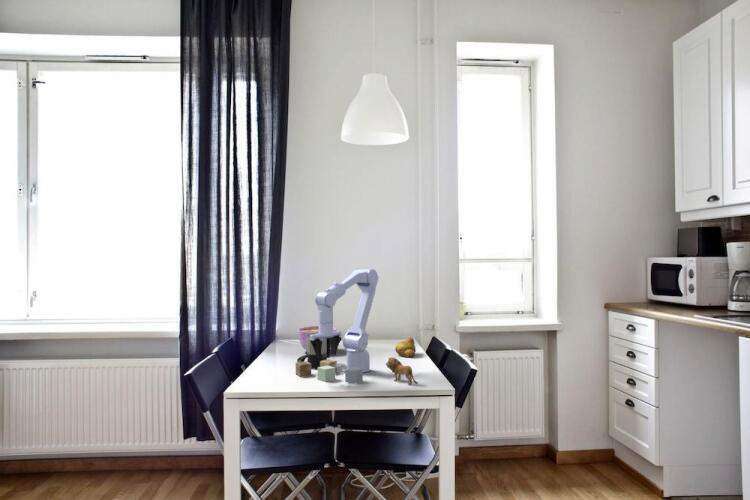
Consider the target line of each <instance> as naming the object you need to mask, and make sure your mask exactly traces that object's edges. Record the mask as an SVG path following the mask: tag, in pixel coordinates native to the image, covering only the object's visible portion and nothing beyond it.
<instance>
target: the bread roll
mask: <svg viewBox="0 0 750 500" xmlns="http://www.w3.org/2000/svg"><path fill="white" fill-rule="evenodd" d="M415 343H416V342H415V340H414V338H412V337H408V338H406V339H404V340H403V341H399V342H398V343H396V344H395V345H396V346H395V352H396V353H397V354H398V356H400V357H406V358H411V357H414V356H415V353H416V350H417V349H416V345H415Z"/></svg>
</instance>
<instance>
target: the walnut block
mask: <svg viewBox="0 0 750 500" xmlns="http://www.w3.org/2000/svg"><path fill="white" fill-rule="evenodd" d="M307 361H308V360H305V361H304V362H297V361H296V362H295V375H296V376H297V377H298V378H302V377H303V378H304V377H309V376H310V377H311V376H312V369H311V363H309V362H307Z"/></svg>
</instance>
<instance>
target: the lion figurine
mask: <svg viewBox="0 0 750 500" xmlns="http://www.w3.org/2000/svg"><path fill="white" fill-rule="evenodd" d="M385 366H386V368H387V369H389V370H391V372H392V373H394V378H395V379H393V381H394V382H398V381H400V380H401V378H402V376H403V375H404V377H405V378H406V379H407V380H408V384H407V385H408V386H411V385H412V383H413V382H414V384H416V385H418V384H419V382H418V381H416V380H415V377H414V374H413V368H412V367H411V366H410V365H404V364H402V362H401V361H400V360H399V359H397V358H395V357H394V356H393V357H391V356H390V357H388V360H387V362H386V363H385Z"/></svg>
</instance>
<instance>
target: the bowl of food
mask: <svg viewBox="0 0 750 500" xmlns="http://www.w3.org/2000/svg"><path fill="white" fill-rule="evenodd" d="M333 331H338V328H337V327H334V326H333ZM312 332H319V325H316V326H303V327H299V328H297V334H298V338H299V343H300V345H301V347H302V348H303V350H305V351H307V334H308V333H312Z"/></svg>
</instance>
